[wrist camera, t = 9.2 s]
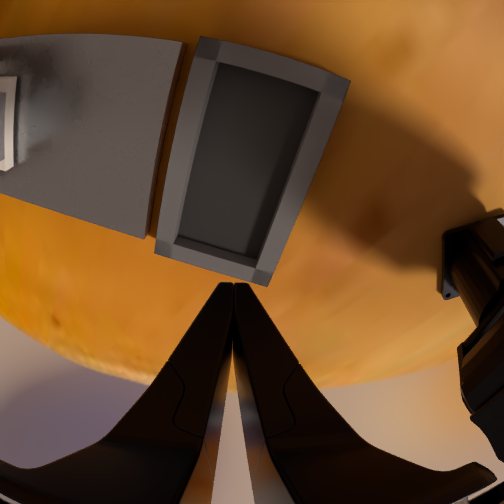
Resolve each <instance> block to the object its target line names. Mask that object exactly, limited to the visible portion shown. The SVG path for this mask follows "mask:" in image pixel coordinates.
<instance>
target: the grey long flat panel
mask: <svg viewBox="0 0 504 504" xmlns="http://www.w3.org/2000/svg"><path fill="white" fill-rule="evenodd" d="M187 44H188V43H184V42H178V41H172V40H165V39H157V38H148V37H139V36H127V35H112V34H46V35H32V36H21V37H12V38H4V39H0V77H2V76H17V82H16V92H15V104H14V124H13V163H14V166H13V167H12V168H10V169H8V170H7V171H2V170H0V193H2V194H5V195H8V196H11V197H14V198H17V199H20V200H23V201H26V202H29V203H32V204H35V205H38V206H41V207H44V208H47V209H50V210H53V211H56V212H59V213H62V214H65V215H68V216H72V217H75V218H78V219H81V220H84V221H87V222H90V223H93V224H97V225H100V226H103V227H106V228H109V229H112V230H116V231H119V232H122V233H125V234H128V235H132V236H135V237H138V238H141V239H145V237H146V236H147V234H148V233H149V230H150V222H151V214H152V207H153V200H154V194H155V187H156V181H157V175H158V169H159V164H160V158H161V153H162V148H163V142H164V137H165V133H166V128H167V123H168V118H169V114H170V109H171V105H172V101H173V97H174V92H175V88H176V84H177V80H178V76H179V73H180V69H181V65H182V61H183V58H184V54H185V51H186V47H187Z"/></svg>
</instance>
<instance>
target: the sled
mask: <svg viewBox="0 0 504 504" xmlns="http://www.w3.org/2000/svg"><path fill="white" fill-rule="evenodd" d="M16 82H17V76H2V77H0V170H2V171H7V170H8V169H10V168H12V167H13V166H14V163H13V124H14V104H15V92H16Z"/></svg>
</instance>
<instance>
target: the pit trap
mask: <svg viewBox="0 0 504 504" xmlns="http://www.w3.org/2000/svg"><path fill="white" fill-rule="evenodd" d="M350 82H351V81H350V80H348V79H345V78H343V77H340V76H338V75H335V74H333V73H330V72H328V71H325V70H322V69H320V68H317V67H314V66H311V65H308V64H305V63H303V62H300V61H297V60H294V59H290V58H287V57H284V56H281V55H277V54H274V53H271V52H267V51H264V50H260V49H256V48H252V47H249V46H245V45H240V44H236V43H232V42H227V41H223V40H218V39H213V38H208V37H203V36H200V38H199V41H198V44H197V48H196V51H195V55H194V58H193V62H192V65H191V69H190V73H189V76H188V80H187V84H186V88H185V92H184V96H183V100H182V104H181V108H180V112H179V116H178V121H177V125H176V130H175V134H174V139H173V144H172V148H171V153H170V158H169V163H168V169H167V174H166V179H165V185H164V191H163V197H162V203H161V209H160V215H159V222H158V229H157V236H156V243H155V251H154V253H155V254H158V255H161V256H164V257H168V258H171V259H174V260H177V261H181V262H184V263H187V264H191V265H194V266H197V267H201V268H204V269H207V270H211V271H214V272H217V273H221V274H224V275H228V276H231V277H234V278H238V279H241V280H245V281H248V282H252V283H255V284H259V285H262V286H266V287H268V285H269V282H270V280H271V278H272V275H273V273H274V271H275V268H276V266H277V264H278V261H279V259H280V257H281V254H282V252H283V250H284V247H285V245H286V242H287V240H288V238H289V235H290V233H291V231H292V228H293V226H294V223H295V221H296V219H297V216H298V214H299V211H300V209H301V206H302V204H303V202H304V199H305V197H306V194H307V192H308V189H309V187H310V184H311V182H312V180H313V177H314V175H315V172H316V170H317V167H318V165H319V162H320V160H321V157H322V155H323V152H324V149H325V147H326V144H327V142H328V139H329V137H330V134H331V132H332V129H333V127H334V124H335V121H336V119H337V116H338V114H339V111H340V108H341V106H342V103H343V101H344V98H345V95H346V93H347V90H348V87H349V85H350Z"/></svg>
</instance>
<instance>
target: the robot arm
mask: <svg viewBox="0 0 504 504" xmlns="http://www.w3.org/2000/svg"><path fill="white" fill-rule="evenodd" d="M450 236H451V237H450ZM448 237H450V239H448ZM447 239H448V240H447ZM441 294H442V297H443V299H444V300H449V299H452V298H455V297H458V296H460V297H461V299H462V301H463V302H464V304H465V306H466V308H467V310H468V312H469V314H470V315H471V317H472V319H473V321H474V323H475V325H476V327H477V328H476V329H475V330H474V331H473V332H472V333H471V334H470V336H469V337H468V338H467V339H466V340H465V341H464V342H462V343H461V344H460V345H459V346H458V347H457V353H458V363H459V373H460V387H461V396H462V400H463V402H464V404H465V406H466V408H467V409H468V411H469V412H470V413H471V414H472V415H471V416H470V420H471V421H472V422H473V423H474V424H476V425H477V426H478V427H479V428H480V429H481V430H482V431H483V433H484V434H485V435H486V437H487V438H488V440H489V442H490V443H491V446H492V447H493V449H494V452H495V454H496V456H497V458H498V459H499V460H500V461H502V462H504V214H502V215H499V216H496V217H491V218H488V219H484V220H481V221H478V222H474V223H471V224H469V225H466V226H462V227H459V228H455V229H452V230H448V231H446V232H445V233H444V234H443V237H442V292H441ZM232 341H233V361H234V369H235V376H236V384H237V391H238V398H239V405H240V412H241V419H242V425H243V433H244V439H245V445H246V452H247V459H248V464H249V471H250V477H251V482H252V490H253V495H254V501H255V504H504V481H503V482H502V483H500V484H498V485H496V486H494V487H493V488H491V489H489V490H487V491H486V492H484V493H482V494H480V495H478V496H476V497H475V498H473V499H471V500H468V496H470V495H472V494H474V493H476V492H478V491H480V490H482V489H483V488H485V487H487V486H489V485H490V484H492V483H494V482H495V481H496V480H497V478H496V476H495V475H494V473H493V472H491V471H490V470H489V469H488V468H486V467H484V466H483V465H481V464H479V463H477V462H472V463H469V464H466V465H464V466H462V467H460V468H457V469H455V470H451V471H435V470H431V469H428V468H425V467H422V466H420V465H417V464H415V463H412V462H409V461H407V460H405V459H402V458H400V457H397V456H395V455H392V454H390V453H388V452H386V451H383V450H381V449H379V448H377V447H374V446H373V445H371V444H369V443H368V442H366V441H365V440H364V439H363V438H361V437H360V436H359V435H358V434H357V433H356V432H355V431H354V430H353V428H351V426H350V425H349V424H348V423H347V422H346V421H345V420H344V418H343V417H342V416H341V415H340V414H339V413H338V412H337V411H336V410H335V408H334V407H333V406H332V405H331V404H330V403H329V402H328V400H327V399H326V398H325V397H324V396H323V394H322V393H321V392H320V391H319V390H318V388H317V387H316V386H315V384H314V383H313V382H312V380H311V379H310V377H309V376H308V375H307V373H306V372H305V370H304V369H303V367H302V366H301V364H299V361H298V360H297V358H296V357H295V355H294V354H293V352H292V351H291V349H290V347H289V346H288V344H287V343H286V341H285V340H284V338H283V337H282V335H281V334H280V332H279V331H278V329H277V327H276V326H275V324H274V323H273V321H272V320H271V318H270V317H269V315H268V313H267V312H266V310H265V309H264V307H263V306H262V304H261V303H260V301H259V299H258V298H257V296H256V295H255V293H254V292H253V290H252V289H251V287H250V285H249V284H248V283H234V285H233V283H231V282H220V283H219V284H218V285H217V287H216V288H215V290H214V291H213V293H212V294H211V296H210V297H209V299H208V300H207V302H206V303H205V305H204V306H203V308H202V309H201V311H200V312H199V314H198V315H197V317H196V318H195V320H194V321H193V323H192V324H191V326H190V327H189V329H188V330H187V332H186V333H185V335H184V336H183V338H182V339H181V341H180V342H179V344H178V345H177V347H176V348H175V350H174V351H173V353H172V354H171V356H170V357H169V359H168V361H167V362H166V363H165V365H164V366H163V368H162V369H161V371H160V372H159V374H158V375H157V376H156V378H155V379H154V381H153V382H152V383H151V385H150V386H149V387H148V389H147V390H146V391H145V392H144V393H143V394H142V396H141V397H140V398H139V399H138V400H137V402H136V403H135V404H134V405H133V406H132V407H131V408H130V409H129V411H128V412H127V413H126V414H125V415H124V416H123V417H122V419H121V420H120V421H119V422H118V423H117V424H116V426H114V428H113V429H112V430H111V431H110V432H109V433H108V434H107V435H106V436H105V437H103V438H102V439H101V440H99V441H98V442H96V443H94V444H92V445H90V446H88V447H86V448H84V449H81V450H79V451H77V452H75V453H72V454H70V455H68V456H65V457H63V458H61V459H58V460H56V461H54V462H51V463H49V464H46V465H44V466H41V467H37V468H32V469H24V468H19V467H16V466H13V465H11V464H9V463H7V462H5V461H2V460H0V493H1V494H3V495H5V496H7V497H8V498H10V499H12V500H14V501H16V502H18V503H21V504H211V498H212V491H213V484H214V482H213V481H214V477H215V470H216V462H217V456H218V449H219V441H220V435H221V427H222V421H223V414H224V407H225V400H226V393H227V386H228V380H229V373H230V366H231V359H232ZM0 504H12V503H10V502H8V501H6V500H4V499H2V498H0Z"/></svg>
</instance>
